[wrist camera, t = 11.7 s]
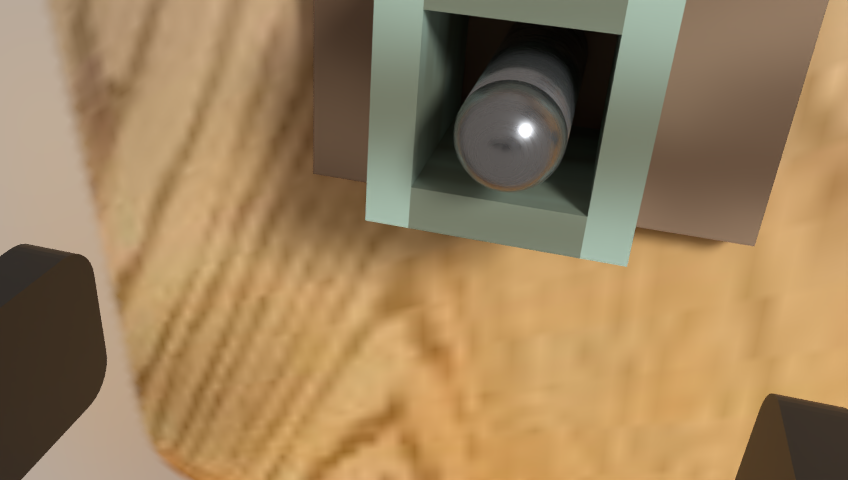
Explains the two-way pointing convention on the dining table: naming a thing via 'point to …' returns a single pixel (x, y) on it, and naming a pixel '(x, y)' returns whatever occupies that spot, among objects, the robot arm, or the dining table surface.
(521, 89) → the metal post
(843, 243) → the dining table surface
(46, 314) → the robot arm
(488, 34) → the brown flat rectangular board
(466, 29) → the pale green open box
